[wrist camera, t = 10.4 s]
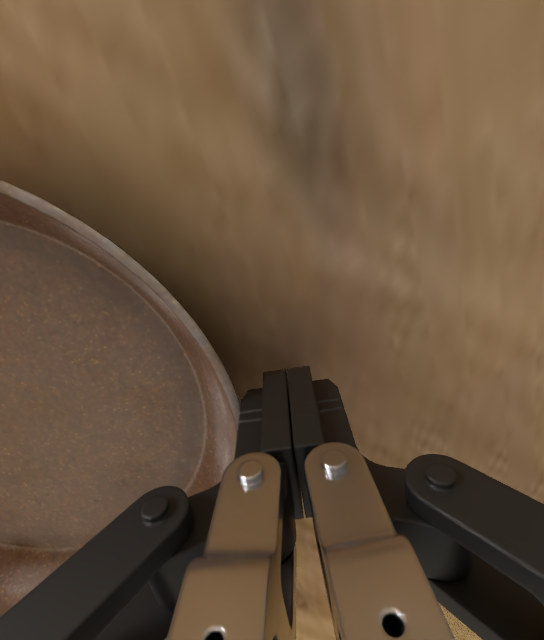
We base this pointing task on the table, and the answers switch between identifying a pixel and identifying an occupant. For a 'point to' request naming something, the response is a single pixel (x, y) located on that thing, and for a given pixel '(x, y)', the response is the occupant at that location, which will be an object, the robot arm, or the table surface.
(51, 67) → the table surface
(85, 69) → the table surface
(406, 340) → the table surface
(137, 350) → the plant saucer
